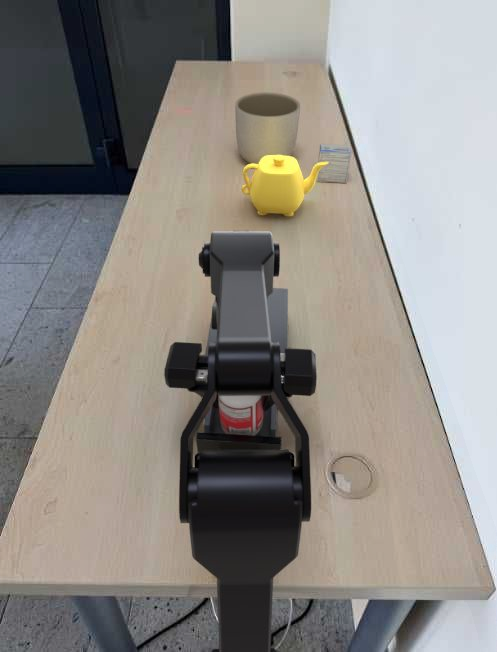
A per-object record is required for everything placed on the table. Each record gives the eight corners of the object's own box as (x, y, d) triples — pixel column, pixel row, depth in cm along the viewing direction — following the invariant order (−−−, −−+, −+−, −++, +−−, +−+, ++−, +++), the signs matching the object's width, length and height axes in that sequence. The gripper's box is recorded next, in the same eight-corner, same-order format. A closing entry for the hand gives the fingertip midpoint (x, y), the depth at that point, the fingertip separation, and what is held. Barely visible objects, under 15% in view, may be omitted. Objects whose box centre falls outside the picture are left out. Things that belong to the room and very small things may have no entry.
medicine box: (345, 175, 131) (350, 144, 125) (346, 184, 128) (351, 152, 122) (316, 174, 132) (320, 143, 126) (316, 182, 128) (320, 150, 122)
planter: (229, 169, 133) (228, 112, 122) (243, 143, 145) (243, 89, 134) (290, 176, 130) (294, 119, 120) (299, 149, 142) (304, 95, 131)
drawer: (278, 494, 66) (280, 473, 61) (194, 488, 66) (191, 467, 62) (281, 367, 82) (283, 343, 77) (213, 363, 82) (212, 339, 78)
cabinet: (283, 404, 77) (287, 374, 72) (205, 399, 78) (202, 369, 72) (285, 319, 91) (287, 288, 86) (218, 315, 92) (217, 284, 86)
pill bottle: (247, 399, 73) (246, 348, 65) (271, 427, 69) (273, 376, 62) (212, 418, 70) (206, 367, 63) (235, 448, 67) (232, 398, 59)
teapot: (243, 190, 125) (244, 142, 116) (321, 194, 124) (328, 145, 115) (238, 219, 115) (238, 169, 106) (323, 223, 114) (330, 173, 105)
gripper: (319, 286, 62) (307, 367, 73) (174, 279, 63) (184, 359, 74) (323, 350, 54) (309, 430, 65) (156, 341, 55) (170, 421, 66)
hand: (241, 407), depth 67 cm, fingers closed on pill bottle, 6 cm apart
